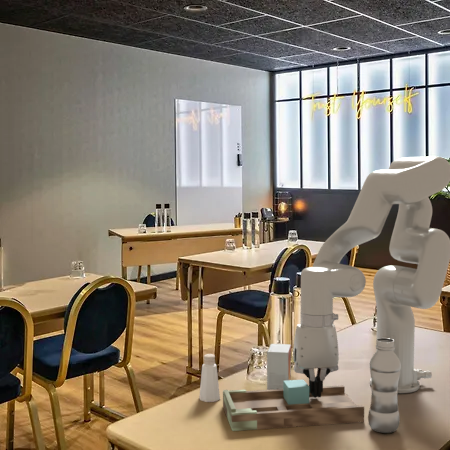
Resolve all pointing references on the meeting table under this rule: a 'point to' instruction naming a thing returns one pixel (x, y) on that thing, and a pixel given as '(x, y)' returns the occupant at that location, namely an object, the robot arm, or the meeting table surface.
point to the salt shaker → (209, 380)
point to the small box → (278, 365)
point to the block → (296, 391)
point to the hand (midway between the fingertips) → (315, 395)
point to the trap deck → (288, 409)
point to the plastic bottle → (384, 387)
